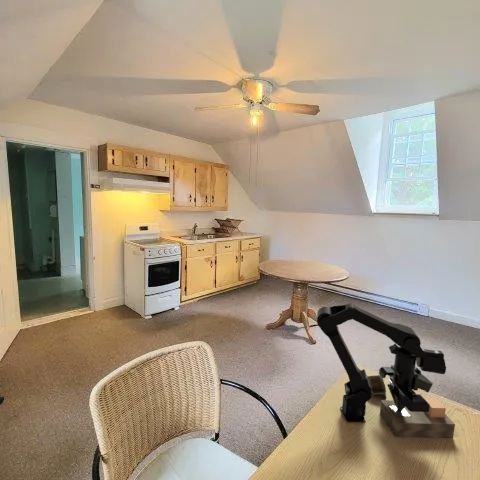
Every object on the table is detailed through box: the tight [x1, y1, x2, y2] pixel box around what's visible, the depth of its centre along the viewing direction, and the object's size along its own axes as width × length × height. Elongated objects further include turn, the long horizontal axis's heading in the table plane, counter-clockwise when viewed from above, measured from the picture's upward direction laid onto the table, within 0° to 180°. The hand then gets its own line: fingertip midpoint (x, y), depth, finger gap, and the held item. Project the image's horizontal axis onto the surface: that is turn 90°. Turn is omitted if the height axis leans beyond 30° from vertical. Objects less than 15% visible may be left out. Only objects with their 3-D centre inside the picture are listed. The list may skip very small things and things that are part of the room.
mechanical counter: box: [367, 374, 387, 399], centre depth 108 cm, size 7×13×10 cm
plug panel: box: [379, 399, 456, 439], centre depth 92 cm, size 18×10×5 cm, turn 90°
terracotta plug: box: [423, 397, 447, 418], centre depth 92 cm, size 4×4×5 cm
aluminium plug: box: [389, 406, 410, 417], centre depth 92 cm, size 4×4×5 cm
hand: (399, 410), depth 92 cm, fingers closed, pressing on aluminium plug
